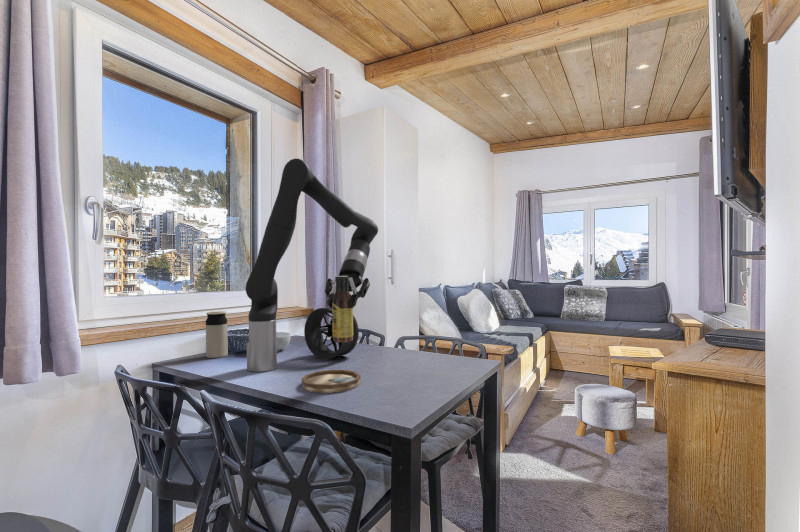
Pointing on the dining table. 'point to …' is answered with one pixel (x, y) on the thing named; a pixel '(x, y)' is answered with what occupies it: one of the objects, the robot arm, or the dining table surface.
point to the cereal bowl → (282, 339)
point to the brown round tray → (331, 381)
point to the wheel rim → (315, 337)
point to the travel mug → (216, 334)
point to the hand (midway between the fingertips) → (340, 306)
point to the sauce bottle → (342, 312)
